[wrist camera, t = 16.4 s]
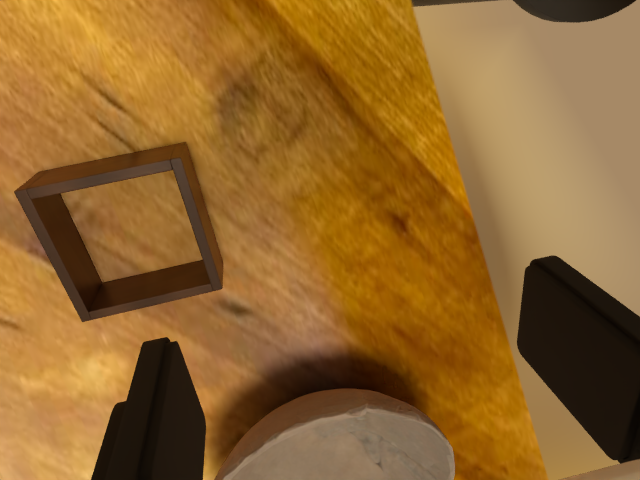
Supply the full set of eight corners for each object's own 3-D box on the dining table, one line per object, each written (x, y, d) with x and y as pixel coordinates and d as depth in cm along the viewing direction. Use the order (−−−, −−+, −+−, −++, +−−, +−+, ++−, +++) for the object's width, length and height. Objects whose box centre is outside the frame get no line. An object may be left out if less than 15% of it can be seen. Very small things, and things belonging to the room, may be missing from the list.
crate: (186, 141, 35) (180, 157, 31) (223, 263, 41) (222, 289, 37) (38, 171, 34) (13, 191, 30) (96, 292, 40) (82, 322, 36)
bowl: (459, 362, 52) (505, 431, 44) (372, 505, 62) (396, 585, 53) (246, 322, 44) (250, 397, 35) (183, 494, 54) (175, 587, 45)
